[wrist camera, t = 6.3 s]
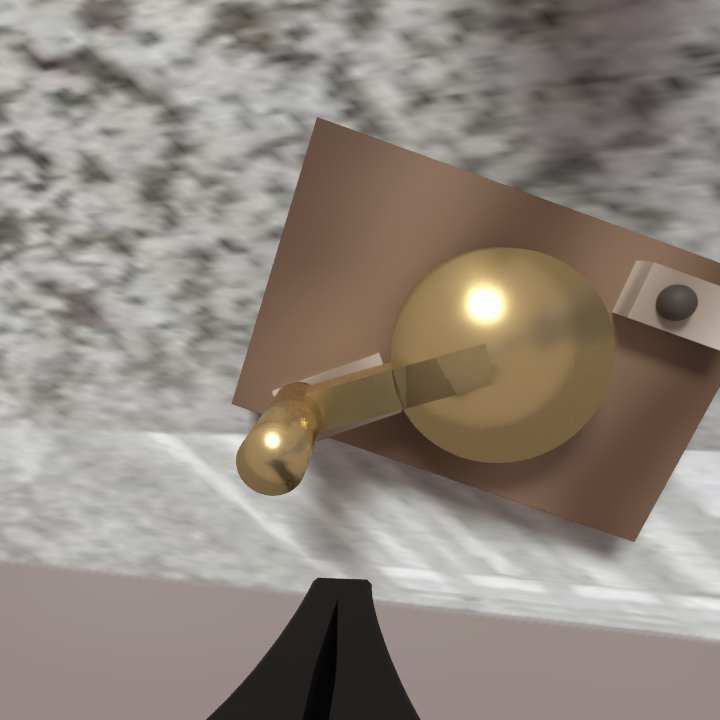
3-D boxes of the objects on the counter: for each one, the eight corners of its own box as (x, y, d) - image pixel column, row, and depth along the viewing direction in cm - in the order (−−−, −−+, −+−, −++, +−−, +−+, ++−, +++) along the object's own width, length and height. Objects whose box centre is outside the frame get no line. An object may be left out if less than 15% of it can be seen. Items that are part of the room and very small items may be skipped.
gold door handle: (570, 219, 14) (650, 213, 10) (610, 414, 16) (697, 483, 11) (246, 317, 16) (191, 350, 11) (308, 491, 17) (280, 582, 12)
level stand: (731, 277, 17) (822, 289, 13) (601, 524, 19) (649, 589, 16) (325, 131, 16) (308, 102, 13) (243, 401, 19) (209, 440, 15)
